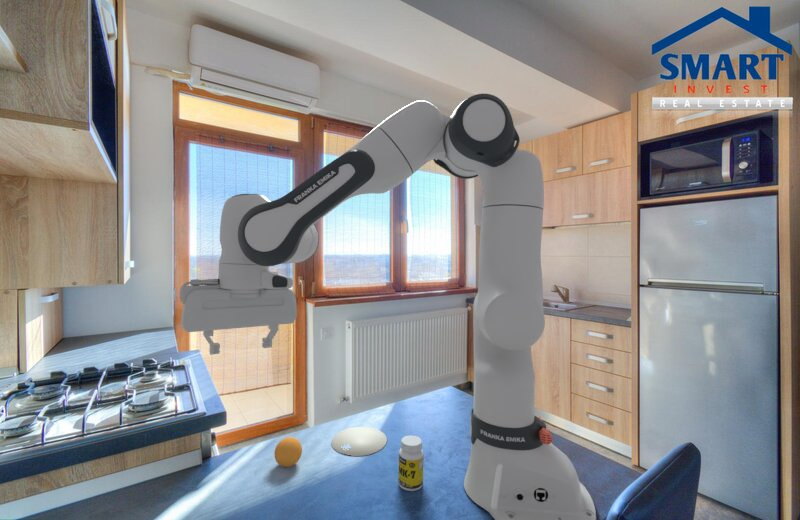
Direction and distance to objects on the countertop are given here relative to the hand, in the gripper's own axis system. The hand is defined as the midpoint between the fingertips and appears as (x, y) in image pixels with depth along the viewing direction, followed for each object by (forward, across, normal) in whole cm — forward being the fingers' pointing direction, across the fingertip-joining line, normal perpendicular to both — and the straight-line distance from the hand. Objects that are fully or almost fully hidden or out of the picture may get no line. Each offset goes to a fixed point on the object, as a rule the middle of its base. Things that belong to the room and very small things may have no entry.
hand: (241, 350), depth 67 cm
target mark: (+25, +27, 0) cm, 36 cm away
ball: (+22, +10, 0) cm, 24 cm away
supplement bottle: (+25, +27, -20) cm, 42 cm away
